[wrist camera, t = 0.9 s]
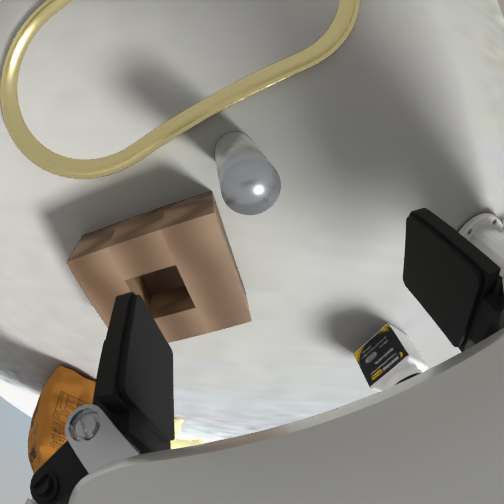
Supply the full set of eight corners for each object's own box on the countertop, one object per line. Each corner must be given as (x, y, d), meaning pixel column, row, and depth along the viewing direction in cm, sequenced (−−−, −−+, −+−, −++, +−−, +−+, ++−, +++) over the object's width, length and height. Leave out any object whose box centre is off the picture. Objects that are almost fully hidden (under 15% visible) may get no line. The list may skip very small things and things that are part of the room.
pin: (249, 127, 26) (273, 151, 18) (259, 164, 28) (285, 205, 20) (209, 138, 26) (213, 168, 18) (221, 175, 28) (230, 221, 20)
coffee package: (34, 385, 40) (5, 500, 21) (60, 354, 37) (24, 496, 18) (82, 412, 44) (67, 524, 26) (116, 387, 41) (103, 524, 23)
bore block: (212, 191, 29) (214, 212, 25) (244, 290, 35) (251, 321, 31) (82, 235, 29) (66, 262, 25) (131, 321, 35) (125, 352, 31)
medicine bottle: (387, 321, 42) (426, 383, 32) (408, 335, 45) (444, 391, 35) (352, 353, 44) (382, 417, 34) (376, 364, 47) (406, 421, 37)
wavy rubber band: (-17, 72, 18) (-26, 72, 17) (294, -106, 14) (298, -113, 13) (70, 209, 28) (65, 216, 27) (383, 38, 23) (392, 37, 22)
